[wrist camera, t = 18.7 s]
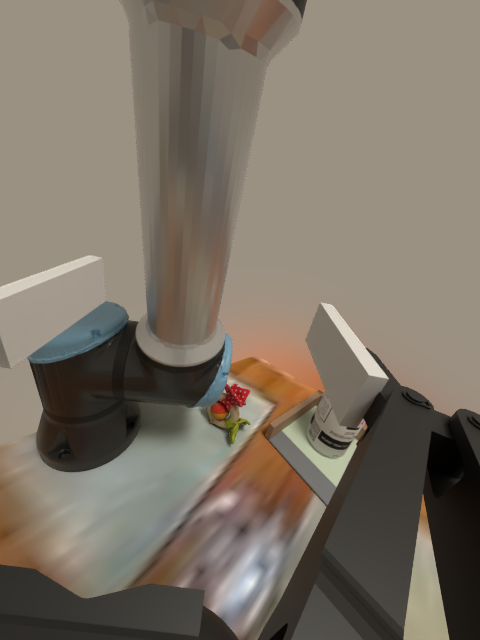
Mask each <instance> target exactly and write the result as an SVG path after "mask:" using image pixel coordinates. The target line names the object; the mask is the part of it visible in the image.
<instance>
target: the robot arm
mask: <svg viewBox="0 0 480 640" xmlns="http://www.w3.org/2000/svg"><path fill="white" fill-rule="evenodd" d="M119 1H120V3H121V5H122V6H123V9H124V11H125V14H126V16H127V19H128V22H129V36H130V53H131V68H132V83H133V99H134V115H135V129H136V144H137V161H138V176H139V192H140V208H141V222H142V238H143V254H144V269H145V285H146V300H147V313H146V314H145V315H144V316H143V317H142V318H141V320H140V321H139V322H136V321H130V320H128V319H129V316H128V314H127V312H126V310H125V309H124V308H123V307H122V306H120V305H118V304H116V303H112V302H107V301H106V297H105V285H104V284H105V283H104V270H103V258H100V257H95V256H90V255H89V256H86V257H83V258H80V259H77V260H74V261H72V262H69V263H66V264H63V265H60V266H58V267H55V268H52V269H49V270H46V271H43V272H41V273H38V274H35V275H32V276H29V277H27V278H24V279H21V280H18V281H15V282H12V283H10V284H7V285H5V286H1V287H0V367H5V368H10V369H11V368H13V367H14V366H15V365H17V364H18V363H19V362H21V361H22V360H24V359H25V358H28V360H29V362H30V366H31V369H32V372H33V375H34V379H35V382H36V385H37V389H38V392H39V395H40V399H41V402H42V405H43V413H42V416H41V420H40V424H39V427H38V431H37V446H38V449H39V452H40V455H41V457H42V459H43V460H44V462H45V463H46V464H48V465H49V466H51V467H52V468H55V469H57V470H61V471H67V472H78V471H85V470H89V469H93V468H96V467H99V466H101V465H103V464H106V463H107V462H109V461H111V460H113V459H114V458H116V457H117V456H119V455H120V454H121V453H122V452H123V451H124V450H126V449H127V448H128V446H129V445H130V444H131V443H132V441H133V440H134V438H135V437H136V435H137V433H138V430H139V427H140V408H139V404H138V402H147V403H159V404H171V405H183V406H187V407H190V408H194V407H209V406H212V405H214V404H215V403H216V402H217V401H218V400H219V399H220V397H221V395H222V393H223V391H224V388H225V385H226V382H227V374H228V373H229V370H230V366H231V359H232V340H231V337H230V336H229V335H228V334H225V330H224V326H223V324H222V322H221V321H220V320H219V318H218V314H219V309H220V304H221V298H222V293H223V288H224V283H225V278H226V273H227V268H228V263H229V258H230V253H231V248H232V243H233V238H234V233H235V228H236V222H237V217H238V212H239V207H240V202H241V197H242V191H243V187H244V182H245V177H246V171H247V166H248V161H249V156H250V151H251V146H252V141H253V136H254V131H255V126H256V120H257V116H258V110H259V105H260V100H261V95H262V90H263V85H264V80H265V75H266V70H267V67H268V65H269V63H270V62H271V60H272V59H273V58H274V57H275V56H276V55H277V54H278V53H279V52H280V51H282V49H283V48H285V47H286V46H287V44H289V43H290V42H291V41H292V40H293V39H294V38H295V37H296V36H297V35H298V33H299V30H300V27H301V23H302V18H303V14H304V10H305V5H306V1H307V0H119ZM306 342H307V345H308V347H309V350H310V352H311V355H312V358H313V360H314V363H315V365H316V368H317V370H318V373H319V375H320V378H321V381H322V383H323V386H324V388H325V391H326V393H327V396H328V398H329V401H330V404H331V406H332V409H333V411H334V414H335V416H336V419H337V421H338V424H339V426H344V427H350V428H356V429H357V427H358V426H359V424H360V423H361V421H362V420H363V419H364V420H365V422H366V424H367V426H368V427H367V429H366V430H365V432H364V433H363V435H362V436H361V437H360V439H359V440H358V442H357V443H356V445H357V447H356V449H355V451H354V453H353V455H352V457H351V459H350V461H349V463H348V465H347V467H346V469H345V471H344V473H343V475H342V477H341V479H340V481H339V483H338V485H337V487H336V489H335V491H334V493H333V495H332V497H331V499H330V501H329V503H328V505H327V507H326V509H325V511H324V513H323V515H322V517H321V519H320V522H319V524H318V526H317V528H316V530H315V532H314V534H313V536H312V538H311V540H310V542H309V544H308V546H307V548H306V550H305V552H304V554H303V556H302V558H301V560H300V562H299V564H298V566H297V568H296V570H295V572H294V574H293V576H292V578H291V580H290V582H289V584H288V586H287V588H286V590H285V592H284V594H283V596H282V598H281V600H280V601H279V603H278V605H277V607H276V608H275V610H274V612H273V613H272V615H271V617H270V618H269V620H268V622H267V623H266V625H265V627H264V629H263V631H262V632H261V634H260V636H259V638H258V640H403V636H404V625H405V618H406V611H407V603H408V596H409V589H410V582H411V575H412V567H413V560H414V553H415V546H416V539H417V531H418V524H419V517H420V510H421V503H422V495H424V501H425V506H426V512H427V517H428V523H429V528H430V534H431V539H432V545H433V551H434V556H435V562H436V567H437V573H438V578H439V584H440V589H441V595H442V600H443V606H444V611H445V617H446V622H447V628H448V633H449V639H450V640H480V415H479V414H477V413H475V412H472V411H469V410H466V409H459V410H457V411H456V412H455V414H454V415H453V416H452V417H450V416H447V415H445V414H442V413H440V412H437V411H435V410H434V408H433V405H432V404H431V403H430V402H429V400H427V399H426V398H425V397H424V396H423V395H421V394H420V393H418V392H416V391H414V390H412V389H410V388H408V387H404V386H401V385H400V384H399V383H398V381H397V380H396V379H395V378H394V377H393V375H392V374H391V373H390V371H389V370H388V369H386V367H385V365H384V364H383V363H382V362H381V360H380V359H379V358H378V357H377V355H376V354H374V353H373V352H372V351H370V350H369V349H368V348H365V347H364V346H363V345H362V343H361V342H360V340H359V339H358V338H357V337H356V335H355V334H354V333H353V331H352V330H351V329H350V327H349V326H348V325H347V324H346V323H345V321H344V320H343V318H342V317H341V316H340V314H339V313H338V312H337V311H336V309H335V308H334V307H333V305H330V304H325V303H321V302H320V304H319V307H318V309H317V312H316V314H315V317H314V319H313V322H312V324H311V327H310V330H309V332H308V335H307V337H306ZM204 591H205V590H197V589H189V588H181V587H173V586H165V585H157V584H148V585H144V586H140V587H135V588H131V589H127V590H123V591H119V592H115V593H110V594H106V595H102V596H98V597H94V598H89V599H85V598H81V597H79V596H77V595H75V594H74V593H72V592H71V591H69V590H67V589H66V588H64V587H63V586H61V585H59V584H58V583H56V582H55V581H53V580H51V579H50V578H48V577H47V576H45V575H43V574H42V573H40V572H39V571H37V570H35V569H30V568H22V567H14V566H6V565H0V640H239V639H238V638H237V636H236V635H235V634H234V632H233V631H232V630H231V629H230V628H229V627H228V625H227V624H226V623H225V622H224V621H223V620H222V619H221V618H219V617H218V616H217V615H216V614H215V613H214V612H212V611H211V610H209V609H207V608H206V607H204V606H203V599H204Z"/></svg>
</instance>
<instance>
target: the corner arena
mask: <svg viewBox="0 0 480 640" xmlns="http://www.w3.org/2000/svg"><path fill="white" fill-rule="evenodd" d="M323 394H324V393H323V392H322V391H320V390H319V391H317V392H316V393H314V394H313V395H311V396H310V397H308V398H307V399H305V400H304V401H302V402H301V403H299V404H298V405H296V406H295V407H293V408H292V409H290V410H289V411H287V412H286V413H284V414H283V415H281V416H280V417H278V418H277V419H275V420H274V421H272V422H271V423H269V426H268V429H267V431H266V434H265V437H266V439H267V440H268V441H269V442H270V443H271V444H272V445H273V446H274V448H275V449H276V450H277V451H278V452H279V453H280V454H281V456H282V457H283V458H284V459H285V460H286V461H287V462H288V463H289V465H290V466H291V467H292V468H293V469H294V470H295V471H296V472H297V474H298V475H299V476H300V477H301V478H302V479H303V480H304V481H305V483H306V484H307V485H308V486H309V487H310V488H311V489H312V490H313V492H314V493H315V494H316V495H317V496H318V497H319V498H320V499H321V501H322V502H323V503H324V504H325V505H326V506H327V505H328V503H329V501H330V499H331V497H332V495H333V493H334V491H335V489H336V487H337V485H338V483H339V481H340V479H341V477H342V475H343V473H344V471H345V469H346V467H347V465H348V463H349V461H350V459H351V457H352V455H353V453H354V451H355V449H356V447H357V445H356V443H357V442H358V440H359V439H360V437H361V436H362V435H363V433H364V432H365V430H366V429H367V427H366V426H365V425H363V427H362V428H361V430H360V431H359V433H358V434H357V436H356V437H355V439H354V440H353V442H352V443H351V445H350V446H349V448H348V449H347V451H346V452H345V454H344V455H343V456H341V457H338V458H335V457H329V456H327V455H324V454H322V453H321V452H319V451H318V450H317V449H316V448H315V447H314V446H313V445H312V444H311V442H310V440H309V438H308V436H307V427H308V424H309V422H310V420H311V418H312V416H313V414H314V412H315V410H316V408H317V406H318V404H319V402H320V400H321V398H322V396H323Z"/></svg>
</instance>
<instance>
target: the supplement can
mask: <svg viewBox="0 0 480 640" xmlns="http://www.w3.org/2000/svg"><path fill="white" fill-rule="evenodd" d="M364 424H365V420H364V419H363V420H362V421H361V423H360V424H359V426H358V427H357V429H356V428H350V427H344V426H339V424H338V421H337V419H336V416H335V414H334V411H333V409H332V406H331V404H330V401H329V398H328V396H327V393H326V391H325V392H324V394H323V396H322V398H321V400H320V402H319V404H318V406H317V408H316V410H315V412H314V414H313V416H312V418H311V420H310V422H309V424H308V427H307V436H308V438H309V440H310V442H311V444H312V445H313V446H314V447H315V448H316V449H317V450H318V451H319V452H321V453H322V454H324V455H327V456H329V457H335V458H338V457H341V456H343V455H344V454H345V452H346V451H347V449H348V448H349V446H350V445H351V443H352V442H353V440H354V439H355V437H356V436H357V434H358V433H359V431H360V430H361V428H362V427H363V425H364Z"/></svg>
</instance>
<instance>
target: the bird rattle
mask: <svg viewBox="0 0 480 640" xmlns="http://www.w3.org/2000/svg"><path fill="white" fill-rule="evenodd" d="M225 390H226V393H227V394H226V393H222V395H221V397H220V399H219V400H218V401H217V402H216V403H215V404H214V405H212V406H209V407H206V409H207V413H208V415H209V417H210V423H213V424H216V425H217V426H219V427H222V428H228V429H231V430H230V432H229V439H230V440H231V443H232V444H234V442H235V436H236V434H237V431H238V426H240V424H241V423H243V424H244V425H246V424H248V425H250V422H249V421H247V420H245V419H242V418H239V409H238V406H239V407H242V406H243V405H246V402H245V400H246V398H247V396H248V395H249V393H250V390H248V389H243V388H240V387H239V386H238V385H237V384H233V385H232V386H231V388H230V387H229V385H227V384H226V385H225ZM229 412H230V414H231V415H230V416H229V417H228V419H225V418H226V417H227V416H228V414H229Z"/></svg>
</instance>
